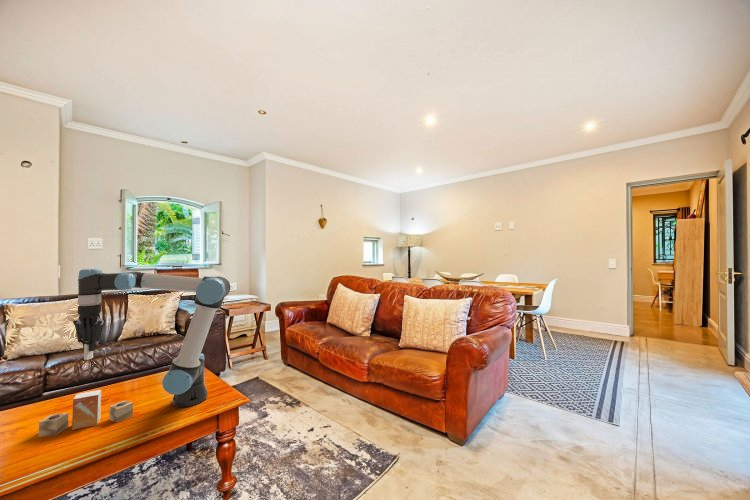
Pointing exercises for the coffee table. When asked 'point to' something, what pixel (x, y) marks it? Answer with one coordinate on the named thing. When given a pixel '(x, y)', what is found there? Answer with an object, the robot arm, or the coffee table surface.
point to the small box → (86, 409)
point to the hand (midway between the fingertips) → (88, 358)
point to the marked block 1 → (53, 424)
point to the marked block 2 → (121, 411)
